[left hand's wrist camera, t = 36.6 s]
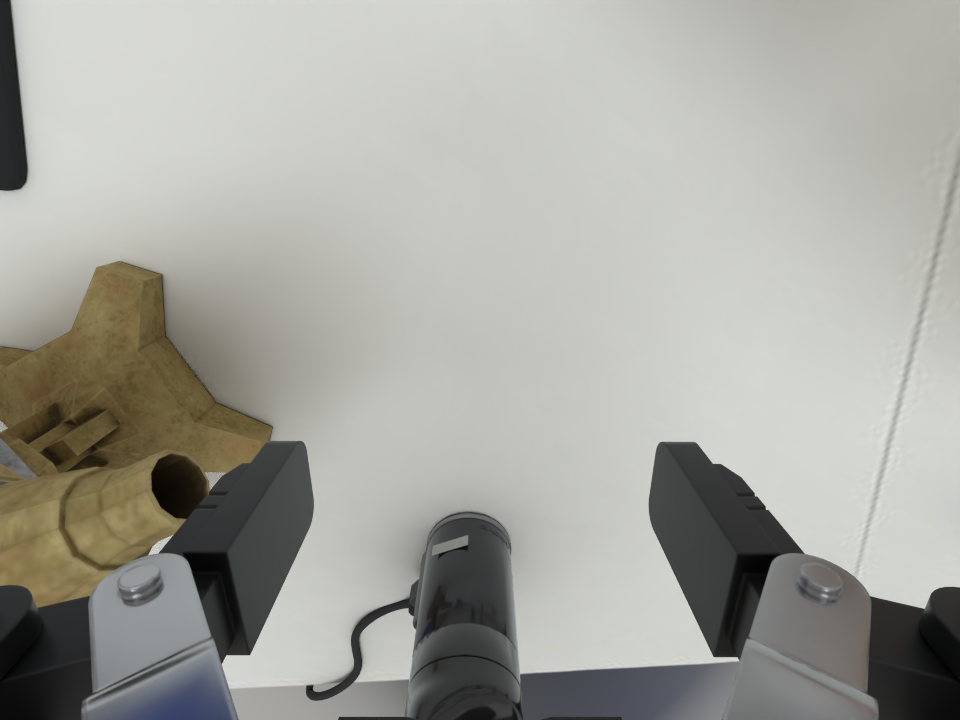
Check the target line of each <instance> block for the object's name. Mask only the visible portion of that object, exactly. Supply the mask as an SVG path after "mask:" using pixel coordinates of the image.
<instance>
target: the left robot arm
mask: <svg viewBox="0 0 960 720" xmlns="http://www.w3.org/2000/svg"><path fill="white" fill-rule="evenodd" d="M313 510H314V499H313V491H312V484H311V477H310V470H309V463H308V456H307V450H306V446H305V444H304V443H303V442H302V441H268V442H266V443H265V444H264V446H263V447H262V448H261V450H260V451H259V452H258V454H257V455H256V456H255V458H254V459H253V460H252V461H251V463H242V464H240V465H239V466H237V467H236V468H234V469H233V470H231V471H229V472H228V473H226V474H225V475H223V476H222V477H221V478H220V479H219V481H218V482H217V483H216V484H215V485H214V487H213V488H212V489H211V490H210V491H209V495H208V496H205V498H204V499H203V500H202V501H201V502H200V504H199V505H198V509H195V510H194V511H193V512H192V513H191V515H190V516H189V517H188V518H187V519H186V521H185V522H184V523H183V524H182V525H181V527H180V528H179V529H178V530H177V532H176V533H175V534H174V535H173V536H172V538H171V539H170V540H169V541H168V542H167V544H166V545H165V546H164V547H163V549H162V550H161V551H160V552H159V553H158V554H153V555H149V556H145V557H142V558H139V559H136V560H133V561H131V562H129V563H127V564H125V565H123V566H121V567H119V568H118V569H116V570H114V571H113V572H112V573H110V574H109V575H108V576H106V577H105V578H104V579H103V580H102V581H101V582H100V583H99V584H98V585H97V586H96V587H95V589H94V590H93V592H92V593H91V595H90V596H86V597H82V598H78V599H73V600H69V601H65V602H60V603H56V604H52V605H47V606H43V607H38V608H37V606H36V604H35V601H34V599H33V596H32V594H31V592H30V591H29V590H28V589H27V588H25V587H23V586H18V585H4V586H0V720H239V719H238V716H237V713H236V710H235V706H234V703H233V700H232V697H231V693H230V690H229V687H228V684H227V680H226V677H225V674H224V671H223V668H222V662H223V661H224V659H225V657H226V655H250V654H251V652H252V650H253V648H254V645H255V643H256V641H257V639H258V637H259V635H260V633H261V630H262V628H263V626H264V624H265V622H266V620H267V618H268V615H269V613H270V611H271V609H272V607H273V605H274V603H275V600H276V598H277V596H278V594H279V592H280V590H281V588H282V585H283V583H284V581H285V579H286V577H287V575H288V573H289V570H290V568H291V566H292V564H293V562H294V560H295V558H296V556H297V553H298V551H299V549H300V547H301V545H302V543H303V541H304V538H305V536H306V534H307V532H308V530H309V528H310V525H311V522H312V517H313ZM649 515H650V520H651V524H652V527H653V530H654V532H655V534H656V536H657V538H658V540H659V542H660V544H661V547H662V549H663V551H664V553H665V555H666V557H667V559H668V561H669V563H670V566H671V568H672V570H673V572H674V574H675V576H676V578H677V580H678V582H679V585H680V587H681V589H682V591H683V593H684V595H685V597H686V599H687V601H688V604H689V606H690V608H691V610H692V612H693V614H694V616H695V618H696V620H697V623H698V625H699V627H700V629H701V631H702V633H703V635H704V637H705V640H706V642H707V644H708V646H709V648H710V650H711V652H712V654H713V656H714V657H738V659H739V660H740V661H739V664H738V668H737V671H736V674H735V677H734V680H733V684H732V687H731V690H730V693H729V697H728V700H727V703H726V706H725V710H724V713H723V716H722V719H721V720H960V588H959V587H943V588H939V589H937V590H934V591H933V592H932V593H931V596H930V598H929V600H928V603H927V605H926V608H925V609H922V608H918V607H914V606H909V605H905V604H901V603H896V602H892V601H888V600H883V599H879V598H875V597H871V596H869V593H868V592H867V590H866V589H865V587H864V586H863V585H862V584H861V583H860V582H859V581H858V580H857V579H856V578H855V577H854V576H852V575H851V574H850V573H848V572H847V571H846V570H844V569H842V568H841V567H839V566H837V565H835V564H833V563H831V562H829V561H827V560H824V559H821V558H818V557H815V556H811V555H807V554H804V552H803V551H802V550H801V549H800V548H799V546H798V545H797V544H796V543H795V541H794V540H793V539H792V538H791V537H790V535H789V534H788V533H787V532H786V531H785V529H784V528H783V527H782V526H781V525H780V523H779V522H778V521H777V520H776V519H775V517H774V516H773V515H772V514H771V513H770V511H769V510H766V507H765V505H764V504H763V503H762V502H761V501H760V499H759V498H758V497H755V493H754V492H753V491H752V490H751V489H750V487H749V486H748V485H747V484H746V482H745V481H744V480H743V479H742V478H741V477H740V476H738V475H737V474H735V473H734V472H732V471H731V470H729V469H728V468H726V467H725V466H723V465H721V464H712V462H711V461H710V460H709V458H708V457H707V456H706V454H705V453H704V452H703V451H702V449H701V448H700V447H699V445H698V444H697V443H695V442H660V443H659V444H658V446H657V449H656V454H655V461H654V468H653V475H652V482H651V489H650V496H649ZM404 608H409V613H410V614H411V615H412V616H414V618H413V626H414V628H415V629H416V635H415V643H414V650H413V658H412V666H411V673H410V680H409V688H408V695H407V703H406V711H405V717H339V719H338V720H523V708H522V696H521V682H520V669H519V658H518V645H517V632H516V619H515V606H514V593H513V581H512V567H511V543H510V539H509V536H508V534H507V532H506V530H505V529H504V528H503V527H502V526H501V525H500V524H499V523H498V522H497V521H495V520H493V519H492V518H490V517H487V516H484V515H481V514H476V513H461V514H456V515H453V516H450V517H448V518H446V519H444V520H442V521H441V522H439V523H438V524H437V525H436V526H435V527H434V528H433V530H432V531H431V533H430V535H429V538H428V542H427V552H426V553H425V554H423V557H422V563H421V570H420V577H419V579H418V580H417V581H416V582H415V583H414V584H413V585H412V587H411V593H410V599H409V600H403V601H400V602H396V603H393V604H390V605H387V606H384V607H382V608H379V609H377V610H375V611H373V612H372V613H370V614H369V615H368V616H366V617H365V618H364V619H363V620H362V621H361V622H360V623H359V624H358V625H357V626H356V628H355V629H354V631H353V634H352V637H351V647H352V652H353V657H354V670H353V672H352V673H351V674H350V676H349V677H347V678H346V679H345V680H344V681H343V682H341V683H340V684H338V685H337V686H335V687H333V688H331V689H329V690H326V691H323V692H314V691H313V686H314V685H306V695H307V697H308V698H309V699H311V700H315V701H318V700H324V699H328V698H330V697H333V696H335V695H337V694H338V693H340V692H342V691H343V690H345V689H346V688H347V687H349V686H350V685H351V684H352V683H353V682H354V681H355V680H356V679H357V677H358V676H359V674H360V671H361V668H362V659H361V654H360V649H359V636H360V634H361V632H362V631H363V630H364V629H365V628H366V627H367V626H368V625H369V624H370V623H372V622H373V621H374V620H376V619H378V618H379V617H381V616H383V615H385V614H387V613H390V612H392V611H395V610H399V609H404ZM543 720H622V719H621V717H550V718H546V719H543Z"/></svg>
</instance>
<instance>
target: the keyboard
mask: <svg viewBox="0 0 960 720" xmlns="http://www.w3.org/2000/svg"><path fill="white" fill-rule="evenodd" d="M25 177H26V162H25V153H24V143H23V133H22V124H21V114H20V105H19V95H18V85H17V76H16V66H15V56H14V47H13V37H12V28H11V18H10V8H9V0H0V190H5V191H9V190H16V189H20V187H21V186H22V185H23V183H24V182H25Z"/></svg>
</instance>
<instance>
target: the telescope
mask: <svg viewBox="0 0 960 720" xmlns="http://www.w3.org/2000/svg"><path fill="white" fill-rule="evenodd" d="M0 421H2V422H3V423H4V424H5V425H6V426H7V427H8V429H6V430H4V431H3V432H1V433H0V586H4V585H18V586H23V587H25V588H27V589H28V590H29V591H30V592H31V594H32V596H33V599H34V601H35V604H36V606H37V608H38V607H43V606H47V605H52V604H56V603H60V602H65V601H69V600H73V599H78V598H82V597H86V596H90V595H91V593H92V592H93V590H94V589H95V587H96V586H97V585H98V584H99V583H100V582H101V581H102V580H103V579H104V578H105V577H106V576H108V575H109V574H110V573H112V572H113V571H114V570H116V569H118V568H119V567H121V566H123V565H125V564H127V563H129V562H131V561H133V560H136V559H139V558H142V557H145V556H148V554H149V552H150V550H151V548H152V546H153V545H155V544H156V543H157V542H158V541H160V540H162V539H164V538H167V537H169V536H171V535H173V534H175V533H176V532H177V530H178V529H179V528H180V527H181V525H182V524H183V523H184V522H185V521H186V519H187V518H188V517H189V516H190V515H191V513H192V512H193V511H194V510H195V509H198V505H199V504H200V502H201V501H202V500H203V499H204V498H205V496H208V495H209V491H210V488H209V481H208V479H207V477H206V475H205V473H204V472H229V471H231V470H233V469H234V468H236V467H237V466H239V465H240V464H242V463H251V461H252V460H253V459H254V458H255V456H256V455H257V454H258V452H259V451H260V450H261V448H262V447H263V446H264V444H265V443H266V442H268V441H270V436H271V432H272V427H271V426H268V425H266V424H264V423H261V422H259V421H257V420H254V419H252V418H250V417H248V416H245V415H243V414H241V413H238V412H236V411H234V410H231V409H229V408H227V407H224V406H222V405H220V404H217V403H216V402H215V401H214V400H213V398H212V397H211V396H210V394H209V393H208V392H207V390H206V389H205V388H204V386H203V385H202V384H201V382H200V381H199V380H198V379H197V377H196V376H195V375H194V373H193V372H192V371H191V369H190V368H189V367H188V365H187V364H186V363H185V361H184V360H183V359H182V357H181V356H180V355H179V353H178V352H177V351H176V349H175V348H174V347H173V346H172V344H171V343H170V342H169V340H168V339H167V338H166V336H165V328H164V310H163V293H162V276H161V274H158V273H154V272H151V271H148V270H145V269H142V268H138V267H135V266H132V265H129V264H126V263H122V262H119V261H118V262H115V263H111V264H107V265H104V266H100V267H97V268H96V270H95V273H94V275H93V278H92V280H91V283H90V285H89V288H88V290H87V293H86V295H85V297H84V300H83V302H82V305H81V307H80V310H79V312H78V315H77V317H76V320H75V322H74V325H73V327H72V330H71V331H70V332H68V333H66V334H65V335H63V336H61V337H59V338H57V339H55V340H54V341H52V342H50V343H48V344H46V345H45V346H43V347H41V348H39V349H37V350H36V351H34V352H33V351H26V350H19V349H13V348H6V347H0Z"/></svg>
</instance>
